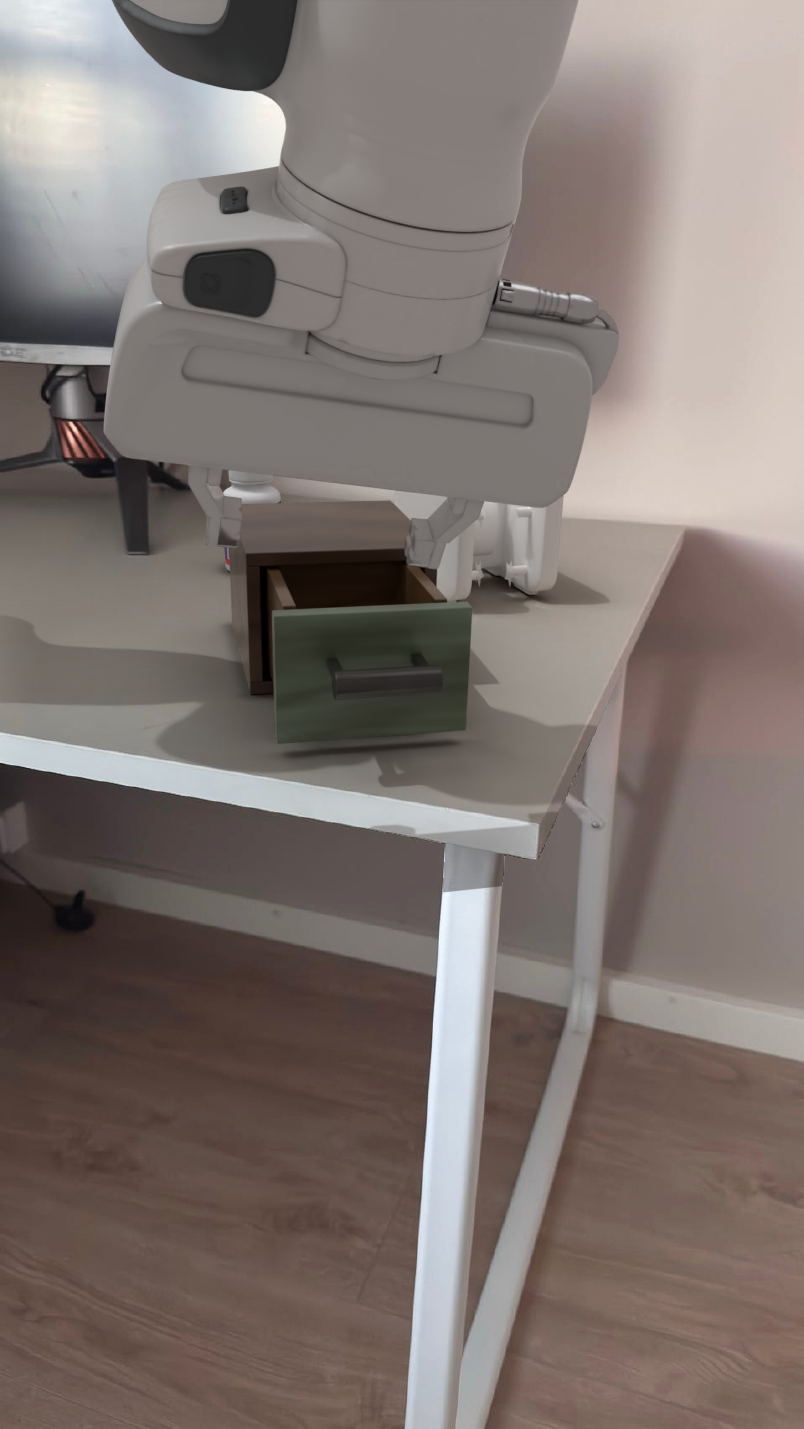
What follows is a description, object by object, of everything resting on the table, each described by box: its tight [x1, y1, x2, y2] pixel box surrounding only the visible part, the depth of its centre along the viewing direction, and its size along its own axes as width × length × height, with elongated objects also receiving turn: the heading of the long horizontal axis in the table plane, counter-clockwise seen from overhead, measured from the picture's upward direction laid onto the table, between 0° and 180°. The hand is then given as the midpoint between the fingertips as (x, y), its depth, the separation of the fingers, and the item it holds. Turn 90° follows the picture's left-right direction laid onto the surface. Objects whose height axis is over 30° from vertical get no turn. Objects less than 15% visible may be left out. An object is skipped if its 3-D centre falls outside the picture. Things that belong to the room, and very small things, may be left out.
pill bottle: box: [222, 470, 282, 572], centre depth 100 cm, size 5×5×10 cm
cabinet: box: [229, 499, 437, 695], centre depth 79 cm, size 15×13×10 cm
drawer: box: [263, 561, 473, 745], centre depth 67 cm, size 18×12×8 cm, turn 13°
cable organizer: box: [393, 490, 565, 602], centre depth 96 cm, size 15×11×12 cm
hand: (323, 550), depth 50 cm, fingers open, 8 cm apart
